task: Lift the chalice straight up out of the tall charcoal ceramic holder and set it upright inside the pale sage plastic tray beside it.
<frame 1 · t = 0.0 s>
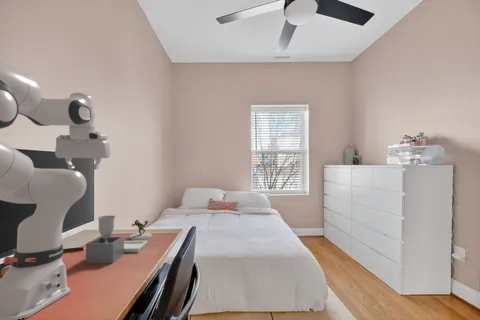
hand: (83, 169, 104), 39 cm above the table, tool pointing down, fingers open, 8 cm apart
monster figurine: (140, 237, 147), on the table
chalice: (105, 259, 111), resting in holder
holder: (105, 258, 111), on the table
tray: (129, 248, 125), on the table
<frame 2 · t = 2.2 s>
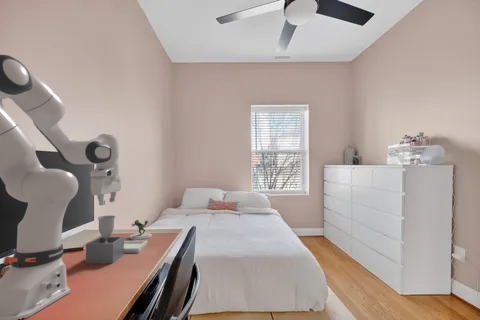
hand: (107, 203, 112), 24 cm above the table, tool pointing down, fingers open, 8 cm apart
nothing on the table moved.
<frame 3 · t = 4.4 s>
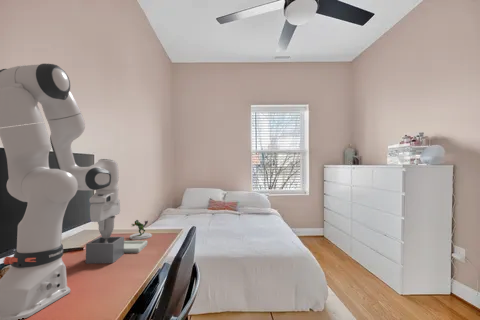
hand: (106, 228, 111), 13 cm above the table, tool pointing down, fingers closed on chalice, 6 cm apart
chalice: (105, 259, 111), resting in holder, touching gripper
everything else where it was.
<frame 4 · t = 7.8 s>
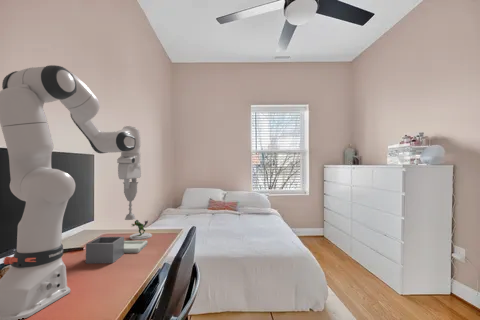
hand: (130, 187, 126), 30 cm above the table, tool pointing down, fingers closed on chalice, 6 cm apart
chalice: (130, 219, 126), point 14 cm above the table, touching gripper
everything else where it was.
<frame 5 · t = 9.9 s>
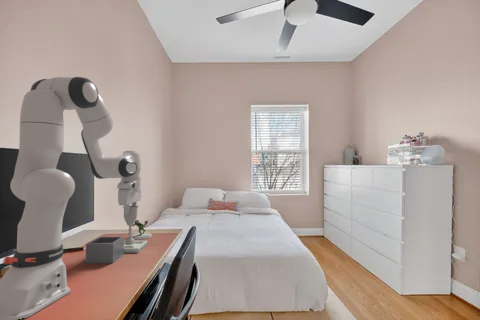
hand: (130, 212, 126), 18 cm above the table, tool pointing down, fingers closed on chalice, 6 cm apart
chalice: (129, 243, 125), point 2 cm above the table, touching gripper
everything else where it was.
when the fingers open (16 cm above the table, at t = 11.2 s): chalice stays where it is, resting on tray.
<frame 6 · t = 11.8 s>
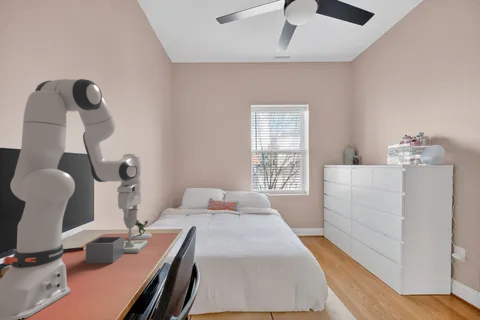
hand: (130, 215, 126), 16 cm above the table, tool pointing down, fingers open, 8 cm apart
chalice: (129, 246, 125), point 1 cm above the table, touching tray
everything else where it was.
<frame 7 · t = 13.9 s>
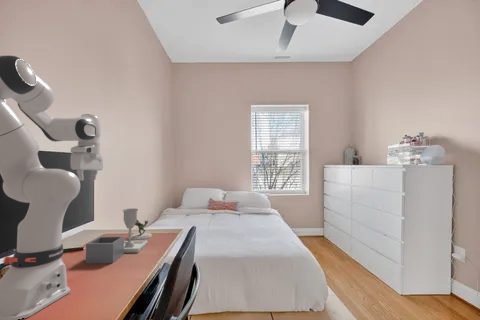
hand: (87, 180, 117), 34 cm above the table, tool pointing down, fingers open, 8 cm apart
nothing on the table moved.
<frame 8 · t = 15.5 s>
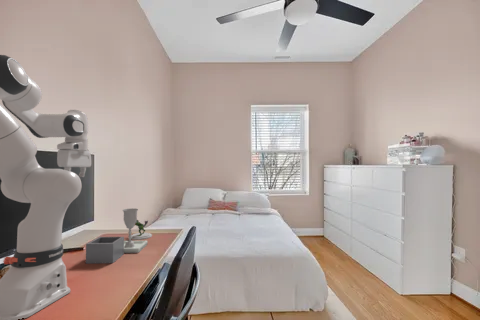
hand: (75, 177, 115), 35 cm above the table, tool pointing down, fingers open, 8 cm apart
nothing on the table moved.
at the end: chalice inside the target area on the tray (0.1 cm from its centre), point 0.8 cm above the tray's base; chalice tilted 0°; the gripper is holding nothing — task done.
